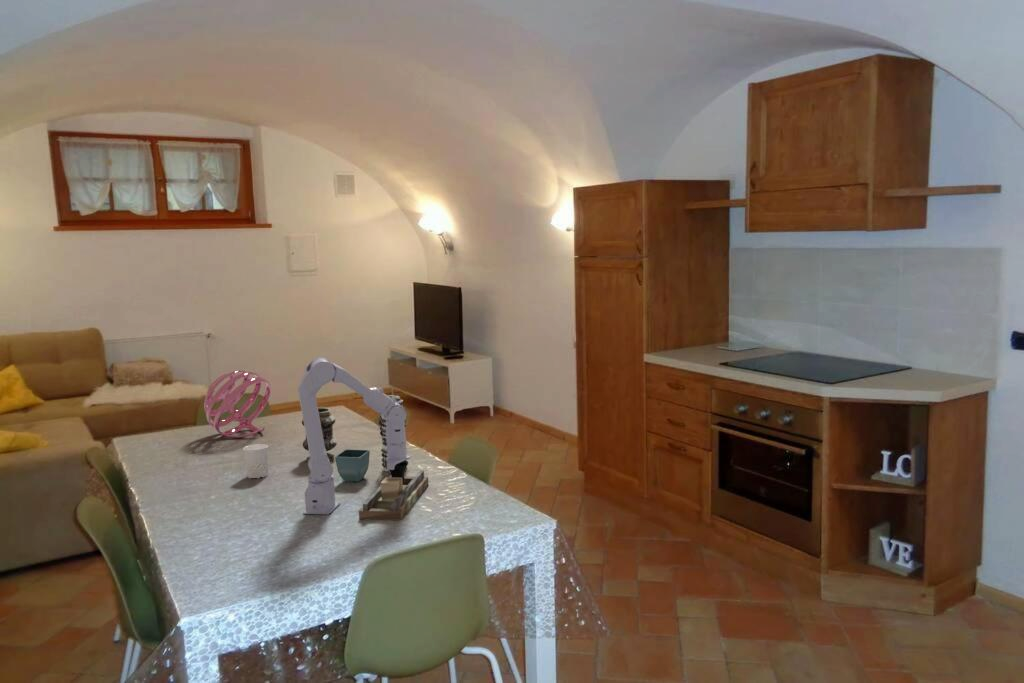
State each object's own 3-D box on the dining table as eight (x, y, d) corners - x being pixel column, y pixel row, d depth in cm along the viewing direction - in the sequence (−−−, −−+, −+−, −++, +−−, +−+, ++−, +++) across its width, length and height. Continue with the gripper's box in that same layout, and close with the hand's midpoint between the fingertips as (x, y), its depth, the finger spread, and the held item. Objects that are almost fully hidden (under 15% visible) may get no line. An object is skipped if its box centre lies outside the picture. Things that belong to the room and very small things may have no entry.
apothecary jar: (340, 460, 277) (337, 411, 274) (305, 465, 272) (302, 415, 270) (335, 452, 288) (332, 404, 286) (301, 456, 284) (298, 408, 281)
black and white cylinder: (412, 464, 268) (409, 394, 265) (401, 472, 259) (397, 399, 256) (388, 463, 271) (384, 393, 267) (376, 471, 262) (372, 399, 258)
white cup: (240, 477, 260) (237, 448, 259) (258, 471, 267) (255, 443, 265) (257, 480, 256) (255, 451, 255) (274, 473, 263) (272, 445, 262)
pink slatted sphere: (296, 386, 318) (249, 348, 324) (242, 416, 296) (194, 374, 302) (283, 431, 334) (239, 394, 340) (232, 463, 312) (186, 423, 318)
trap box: (400, 520, 215) (399, 504, 214) (359, 519, 217) (358, 503, 216) (428, 484, 246) (427, 470, 245) (391, 483, 248) (391, 470, 247)
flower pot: (361, 484, 248) (359, 457, 247) (335, 483, 250) (334, 456, 249) (371, 476, 257) (370, 449, 256) (347, 475, 259) (345, 449, 258)
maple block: (398, 499, 225) (397, 482, 224) (381, 499, 226) (380, 482, 225) (403, 493, 230) (402, 477, 229) (386, 493, 230) (385, 477, 230)
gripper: (402, 449, 225) (404, 494, 227) (415, 436, 239) (417, 478, 241) (379, 448, 226) (381, 493, 228) (393, 436, 240) (395, 478, 242)
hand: (398, 486), depth 234 cm, fingers closed
